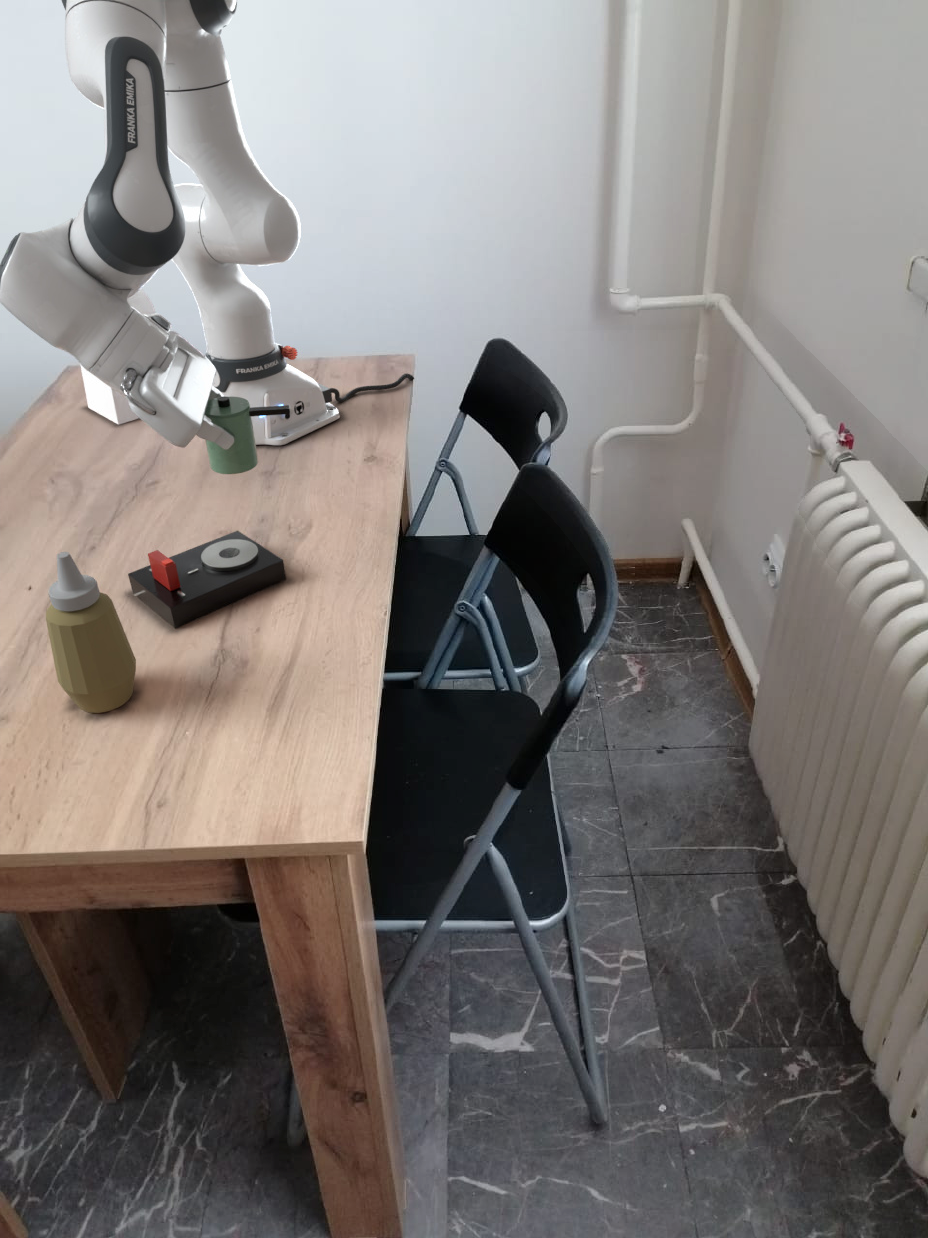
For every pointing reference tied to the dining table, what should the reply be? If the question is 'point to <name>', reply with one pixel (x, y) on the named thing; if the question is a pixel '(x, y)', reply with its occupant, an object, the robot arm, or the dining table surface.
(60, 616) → the squeeze bottle
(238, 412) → the saucepan
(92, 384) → the milk
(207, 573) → the hob
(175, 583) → the knob
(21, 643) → the dining table surface
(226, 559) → the burner
